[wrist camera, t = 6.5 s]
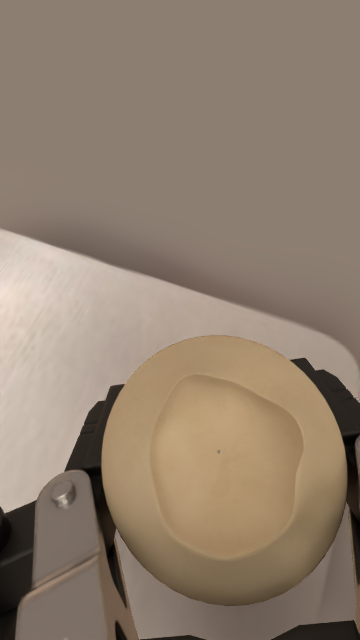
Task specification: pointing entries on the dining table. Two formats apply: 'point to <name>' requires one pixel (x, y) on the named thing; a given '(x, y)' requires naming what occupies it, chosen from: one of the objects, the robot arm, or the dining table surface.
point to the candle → (224, 470)
